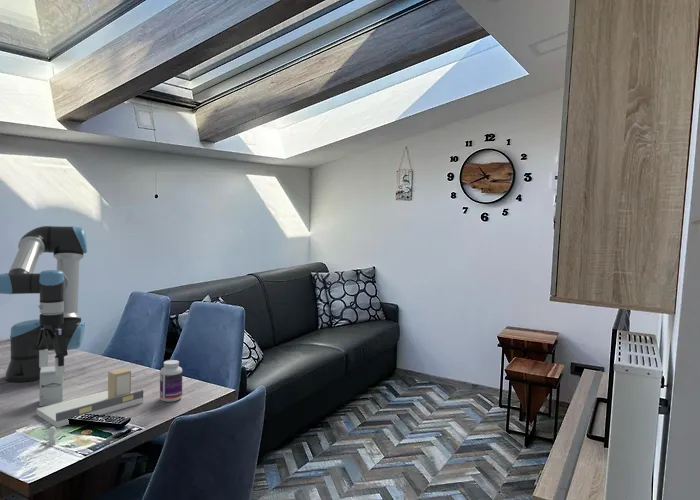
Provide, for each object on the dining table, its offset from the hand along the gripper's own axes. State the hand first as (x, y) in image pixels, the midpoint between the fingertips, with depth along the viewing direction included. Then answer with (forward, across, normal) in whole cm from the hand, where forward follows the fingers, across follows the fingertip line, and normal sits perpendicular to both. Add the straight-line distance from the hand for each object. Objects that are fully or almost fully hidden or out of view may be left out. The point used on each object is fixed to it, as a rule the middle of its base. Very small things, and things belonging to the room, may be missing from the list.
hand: (51, 370), depth 181 cm
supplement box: (+12, 0, 0) cm, 12 cm away
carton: (+10, +18, +16) cm, 26 cm away
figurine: (+13, +34, -14) cm, 39 cm away
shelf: (+12, +16, +7) cm, 21 cm away
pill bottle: (+12, +28, +31) cm, 43 cm away
